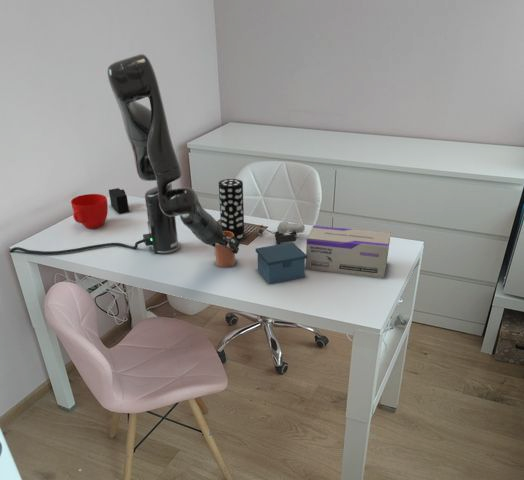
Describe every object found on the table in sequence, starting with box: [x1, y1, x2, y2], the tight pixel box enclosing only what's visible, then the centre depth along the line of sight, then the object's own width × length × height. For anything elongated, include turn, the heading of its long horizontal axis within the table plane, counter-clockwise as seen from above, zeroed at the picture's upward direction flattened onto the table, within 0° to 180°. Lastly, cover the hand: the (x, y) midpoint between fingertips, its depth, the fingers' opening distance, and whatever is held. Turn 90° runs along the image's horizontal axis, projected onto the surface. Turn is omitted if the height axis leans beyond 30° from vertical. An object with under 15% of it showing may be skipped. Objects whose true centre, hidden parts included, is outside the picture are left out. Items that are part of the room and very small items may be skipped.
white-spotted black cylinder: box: [218, 178, 245, 242], centre depth 191 cm, size 8×8×20 cm
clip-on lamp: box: [255, 220, 306, 245], centre depth 194 cm, size 12×6×18 cm
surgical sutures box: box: [305, 225, 391, 279], centre depth 173 cm, size 25×11×11 cm, turn 74°
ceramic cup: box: [70, 193, 109, 229], centre depth 203 cm, size 13×17×10 cm
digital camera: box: [108, 187, 130, 215], centre depth 219 cm, size 10×5×7 cm, turn 30°
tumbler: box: [214, 231, 236, 268], centre depth 176 cm, size 6×6×10 cm
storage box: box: [254, 242, 307, 284], centre depth 171 cm, size 13×11×8 cm
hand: (227, 249), depth 178 cm, fingers closed on tumbler, 6 cm apart
